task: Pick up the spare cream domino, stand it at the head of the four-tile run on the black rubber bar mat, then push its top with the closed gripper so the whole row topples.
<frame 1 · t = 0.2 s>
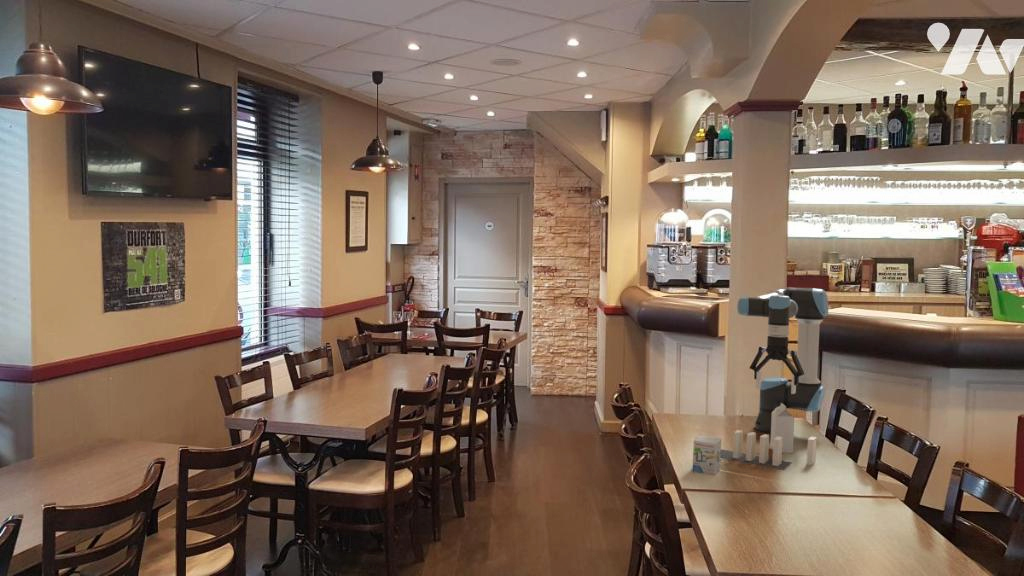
hand: (775, 390, 278), 27 cm above the table, fingers open, 13 cm apart
domino 3: (763, 461, 277), resting on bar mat
domino 1: (737, 456, 283), resting on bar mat
domino 4: (776, 464, 274), resting on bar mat
milk carton: (781, 451, 294), on the table
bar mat: (750, 460, 280), on the table
spare: (811, 463, 277), on the table
ink box: (706, 470, 267), on the table
domino 2: (750, 459, 280), resting on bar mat
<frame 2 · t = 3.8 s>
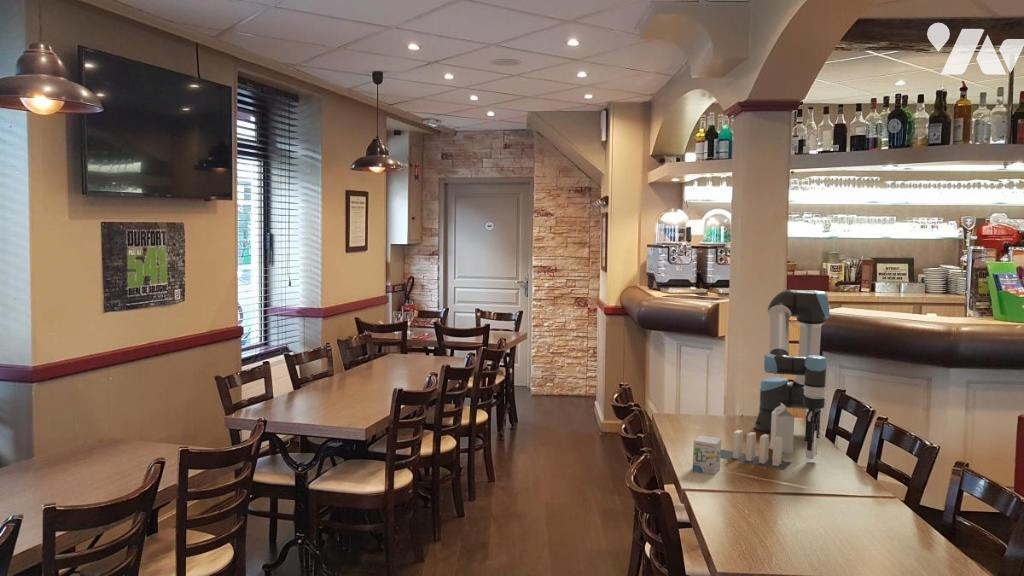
hand: (811, 456, 277), 3 cm above the table, fingers closed on spare, 5 cm apart
spare: (811, 457, 277), point 2 cm above the table, touching gripper
everything else where it was.
when the fingers open (1 cm above the table, at t = 9.0 s): spare stays where it is, resting on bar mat.
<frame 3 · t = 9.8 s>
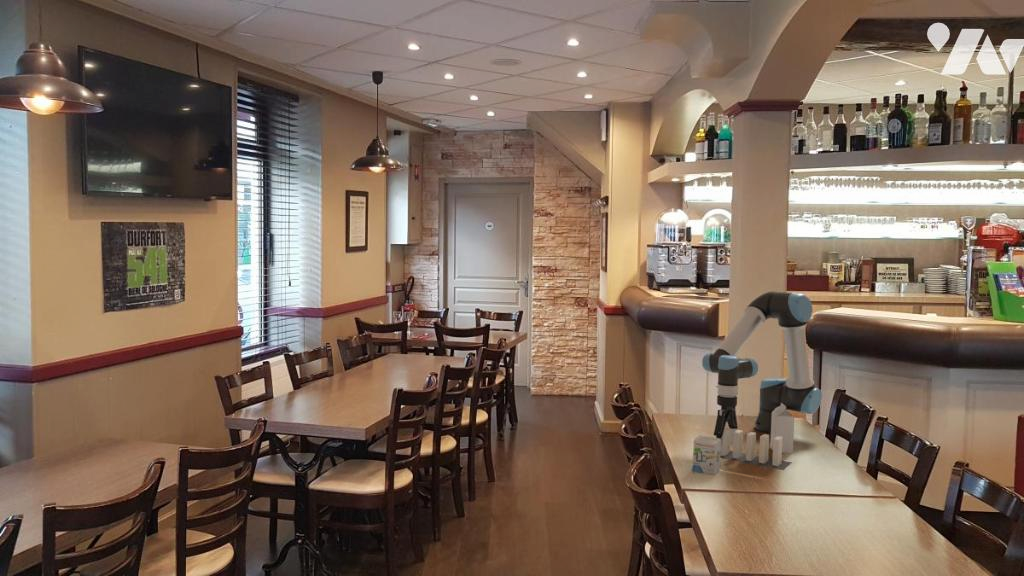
hand: (725, 448, 286), 3 cm above the table, fingers open, 13 cm apart
spare: (724, 454, 286), resting on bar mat
everything else where it was.
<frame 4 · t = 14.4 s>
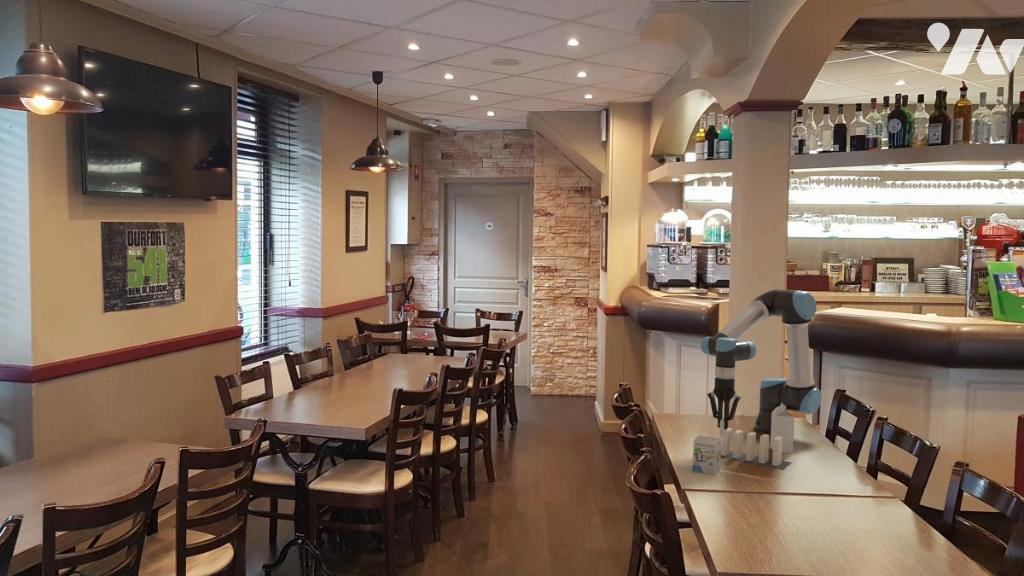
hand: (722, 436, 286), 7 cm above the table, fingers closed
nothing on the table moved.
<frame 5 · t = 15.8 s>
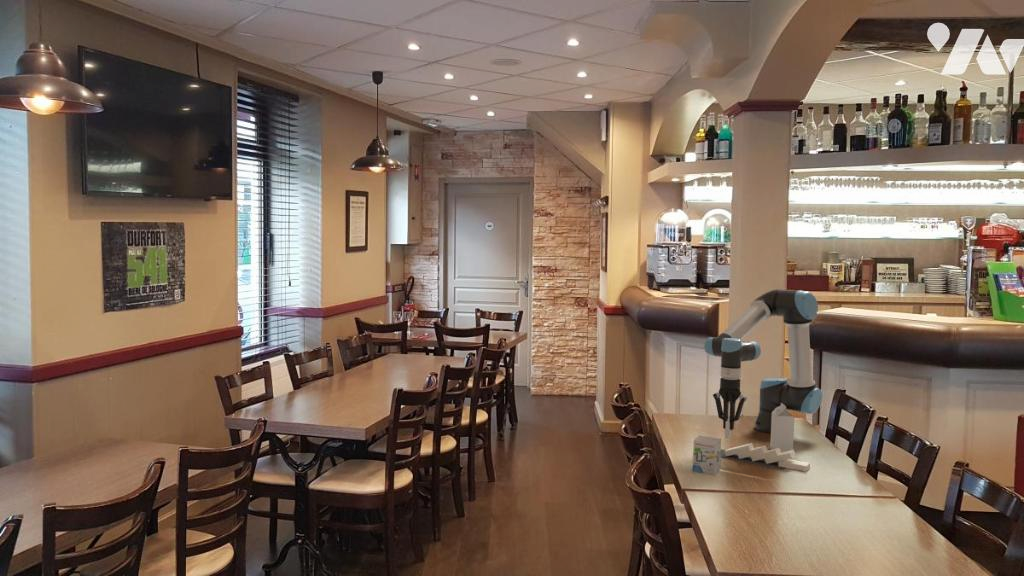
hand: (728, 437, 285), 7 cm above the table, fingers closed
domino 3: (767, 459, 276), point 1 cm above the table, tilted 66°, touching domino 2, domino 4
domino 1: (740, 454, 282), point 1 cm above the table, tilted 67°, touching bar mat, domino 2, spare
domino 4: (780, 462, 274), point 1 cm above the table, tilted 90°, touching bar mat, domino 3
spare: (727, 452, 285), point 1 cm above the table, tilted 67°, touching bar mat, domino 1
domino 2: (753, 457, 279), point 1 cm above the table, tilted 66°, touching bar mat, domino 1, domino 3
everything else where it was.
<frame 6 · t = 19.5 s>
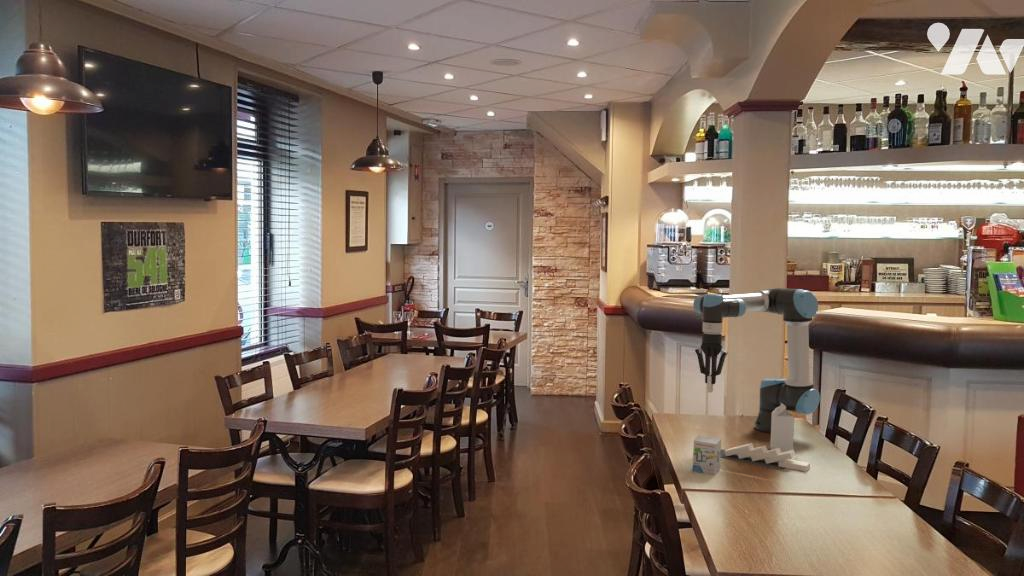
hand: (709, 391, 288), 24 cm above the table, fingers closed
nothing on the table moved.
at the end: domino 4 tilted 90°; spare tilted 67°; spare inside the target area (1.1 cm from its centre), point 1.3 cm above the table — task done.
